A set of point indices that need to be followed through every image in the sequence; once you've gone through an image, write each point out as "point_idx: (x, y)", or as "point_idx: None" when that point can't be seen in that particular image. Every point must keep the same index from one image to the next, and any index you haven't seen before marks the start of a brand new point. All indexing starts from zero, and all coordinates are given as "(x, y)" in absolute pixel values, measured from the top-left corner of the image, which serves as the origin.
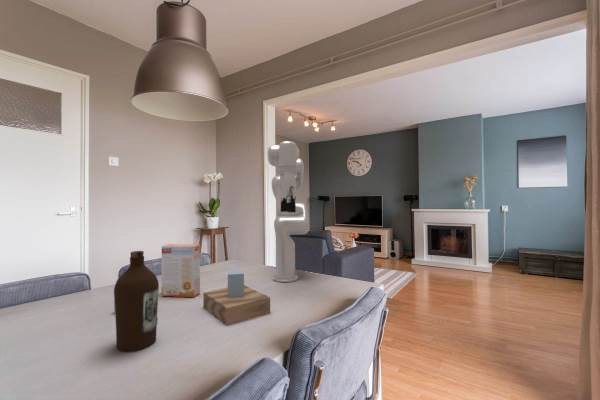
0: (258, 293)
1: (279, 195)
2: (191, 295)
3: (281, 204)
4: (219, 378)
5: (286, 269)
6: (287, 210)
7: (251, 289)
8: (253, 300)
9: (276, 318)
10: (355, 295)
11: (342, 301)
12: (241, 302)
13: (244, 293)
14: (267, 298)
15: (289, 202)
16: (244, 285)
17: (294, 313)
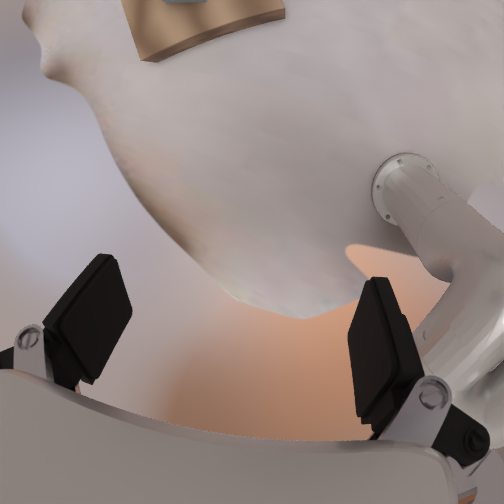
0: (177, 35)
1: (369, 495)
2: None
3: (388, 349)
4: (30, 20)
5: (394, 193)
6: (348, 339)
7: (220, 21)
8: (133, 24)
9: (128, 72)
10: (203, 268)
11: (176, 228)
12: (132, 2)
13: (192, 4)
14: (139, 54)
15: (37, 327)
16: (271, 10)
17: (140, 110)
